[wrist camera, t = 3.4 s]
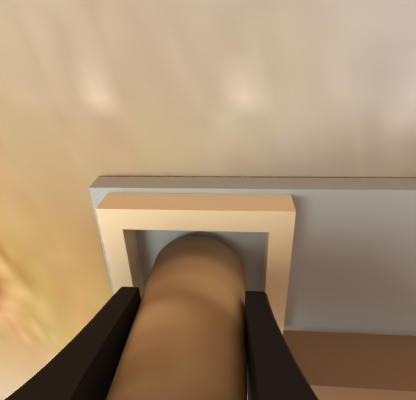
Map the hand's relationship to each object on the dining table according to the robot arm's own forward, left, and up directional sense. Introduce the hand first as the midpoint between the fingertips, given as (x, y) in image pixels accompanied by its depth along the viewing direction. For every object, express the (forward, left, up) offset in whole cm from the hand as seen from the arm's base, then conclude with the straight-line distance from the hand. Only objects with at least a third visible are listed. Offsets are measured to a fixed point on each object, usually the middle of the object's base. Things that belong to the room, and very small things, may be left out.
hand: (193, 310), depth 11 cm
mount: (+4, -3, -3) cm, 6 cm away
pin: (0, 0, -2) cm, 2 cm away
